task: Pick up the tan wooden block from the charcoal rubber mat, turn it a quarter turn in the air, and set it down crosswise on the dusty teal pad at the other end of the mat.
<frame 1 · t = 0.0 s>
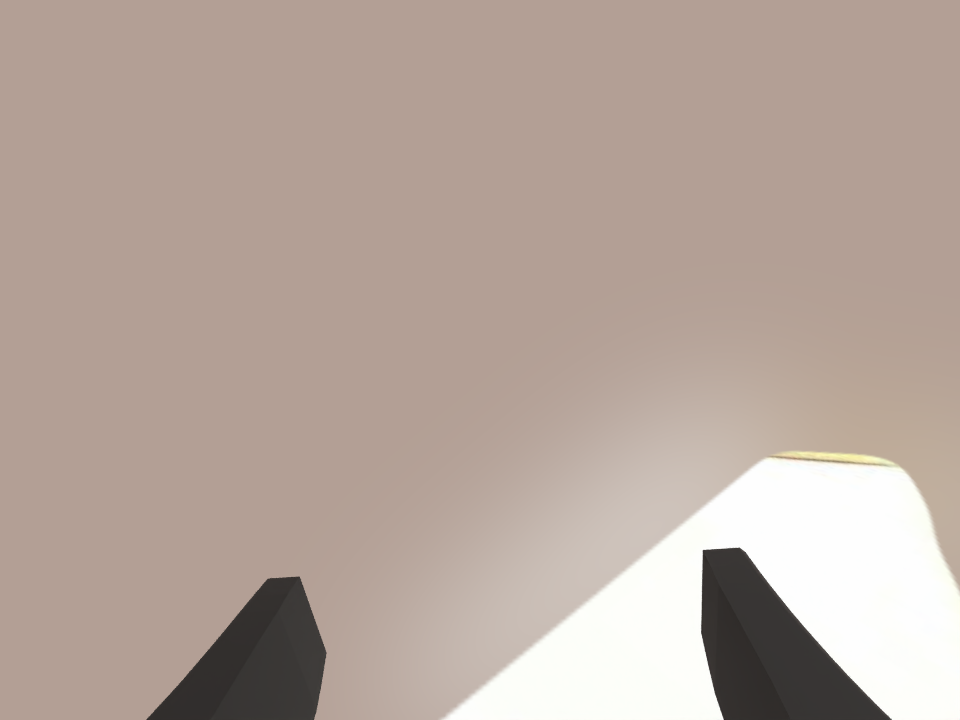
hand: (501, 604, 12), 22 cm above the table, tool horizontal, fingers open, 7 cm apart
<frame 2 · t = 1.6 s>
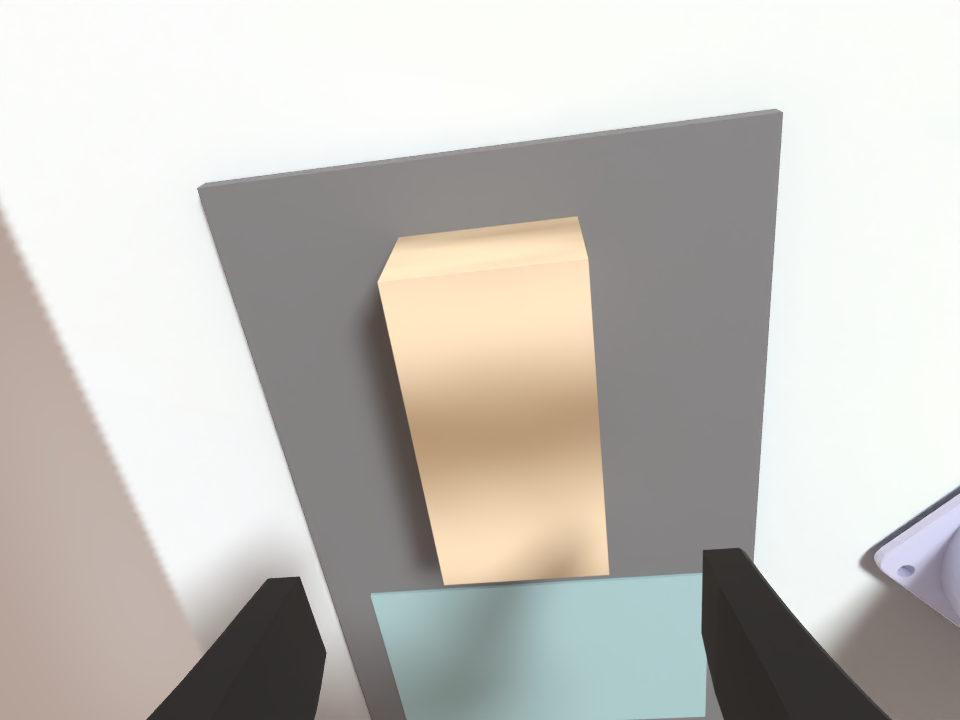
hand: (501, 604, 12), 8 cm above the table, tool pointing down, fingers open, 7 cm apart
mat: (528, 524, 22), on the table
tan wooden block: (507, 382, 19), resting on mat
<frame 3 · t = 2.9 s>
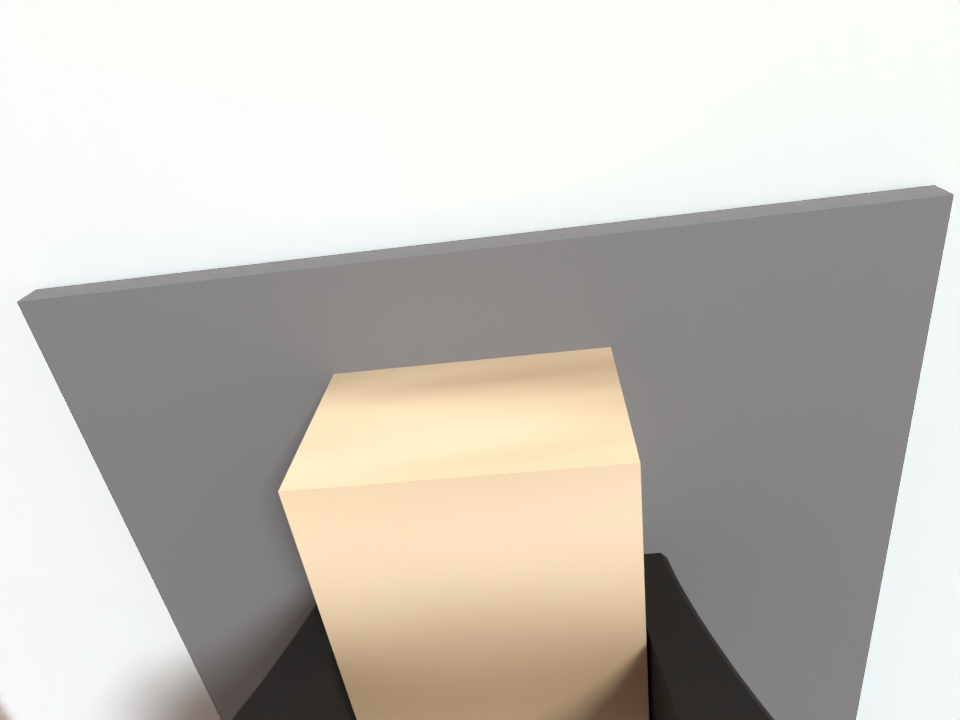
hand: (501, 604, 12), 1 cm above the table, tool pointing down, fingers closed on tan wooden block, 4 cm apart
tan wooden block: (502, 566, 13), resting on mat, touching gripper
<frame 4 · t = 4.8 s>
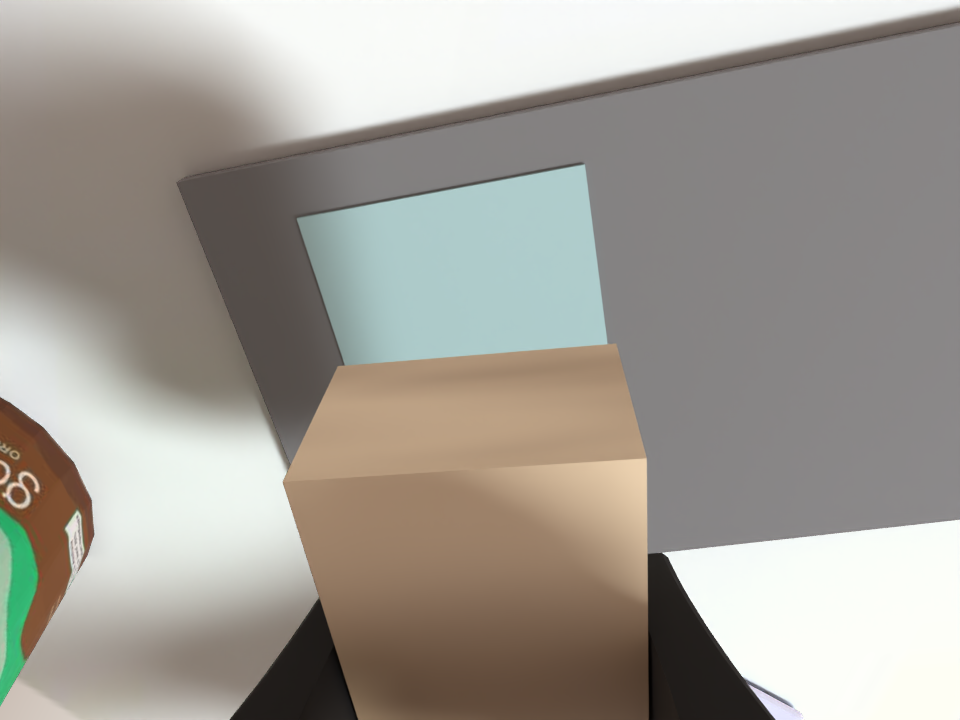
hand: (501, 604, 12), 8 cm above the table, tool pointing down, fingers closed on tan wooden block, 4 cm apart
mat: (684, 347, 19), on the table
tan wooden block: (503, 562, 13), point 7 cm above the table, touching gripper
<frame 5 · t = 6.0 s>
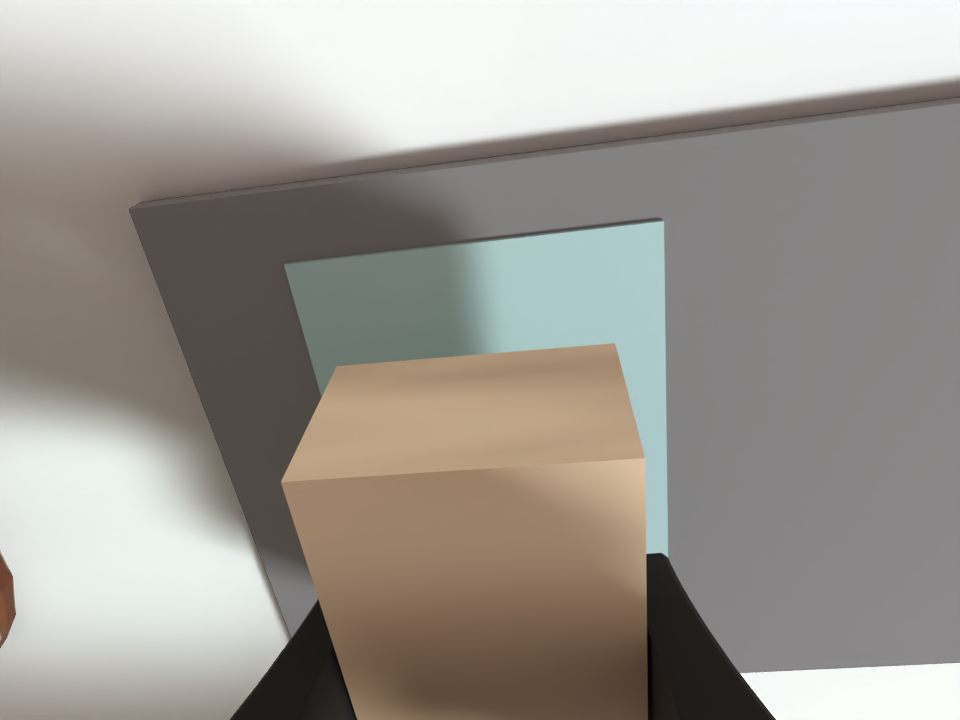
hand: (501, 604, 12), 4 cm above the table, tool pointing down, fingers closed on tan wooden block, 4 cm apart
mat: (757, 444, 16), on the table
tan wooden block: (502, 562, 13), point 3 cm above the table, touching gripper
when the fingers open (3 cm above the table, at t = 6.8 s): tan wooden block drops 1 cm, resting on mat.
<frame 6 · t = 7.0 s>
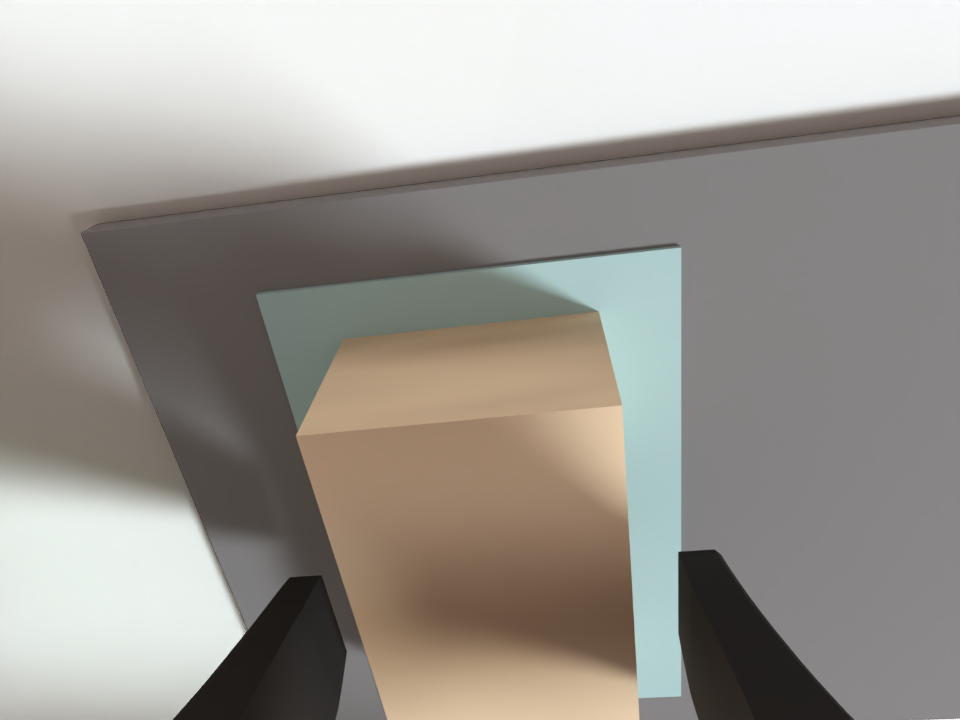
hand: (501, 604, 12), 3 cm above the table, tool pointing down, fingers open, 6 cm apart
mat: (780, 487, 14), on the table
tan wooden block: (501, 523, 14), point 1 cm above the table, touching mat
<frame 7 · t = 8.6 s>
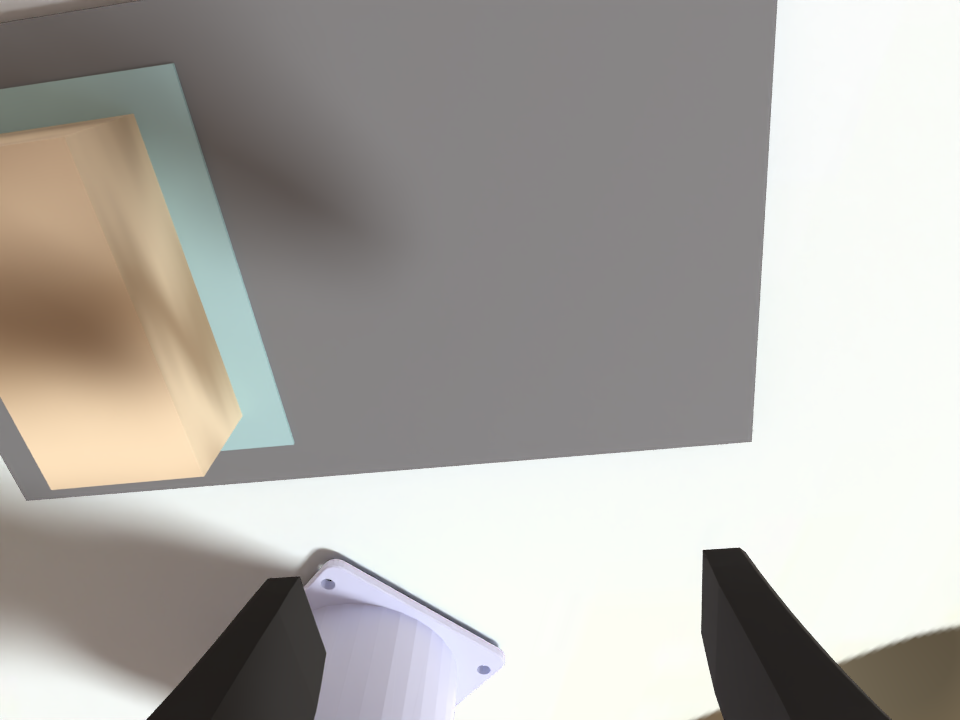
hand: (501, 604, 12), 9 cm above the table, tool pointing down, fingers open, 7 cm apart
mat: (319, 263, 20), on the table
tan wooden block: (118, 290, 20), point 1 cm above the table, touching mat
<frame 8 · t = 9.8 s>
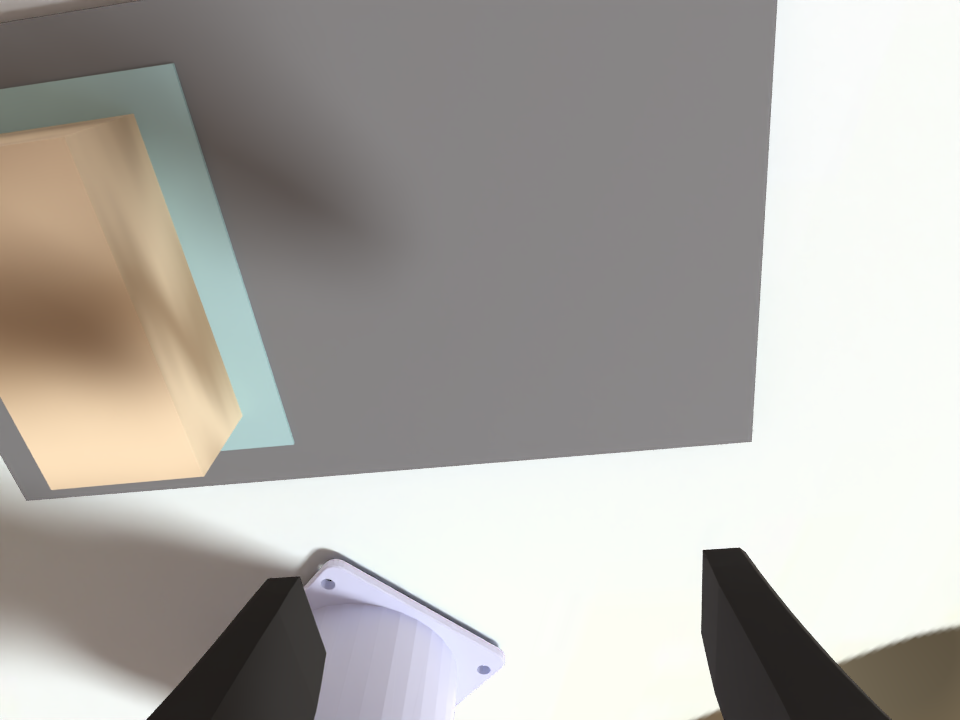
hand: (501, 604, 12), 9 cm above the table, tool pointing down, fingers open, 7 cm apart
mat: (319, 263, 20), on the table
tan wooden block: (118, 290, 20), point 1 cm above the table, touching mat
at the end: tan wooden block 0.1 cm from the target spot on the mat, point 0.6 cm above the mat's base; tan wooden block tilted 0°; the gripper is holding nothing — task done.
